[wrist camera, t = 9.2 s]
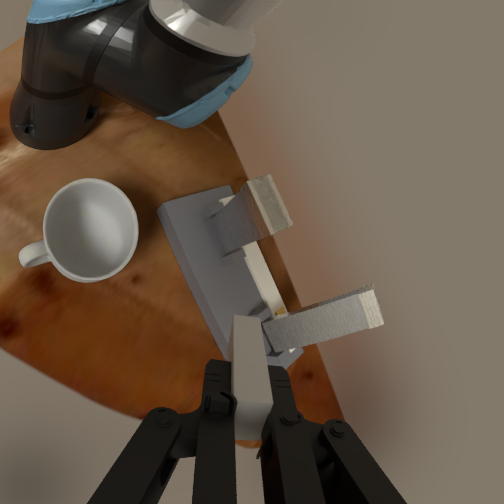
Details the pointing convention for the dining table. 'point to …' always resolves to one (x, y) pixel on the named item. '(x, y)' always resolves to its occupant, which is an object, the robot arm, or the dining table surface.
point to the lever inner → (251, 214)
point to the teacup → (86, 231)
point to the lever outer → (324, 320)
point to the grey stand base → (221, 269)
